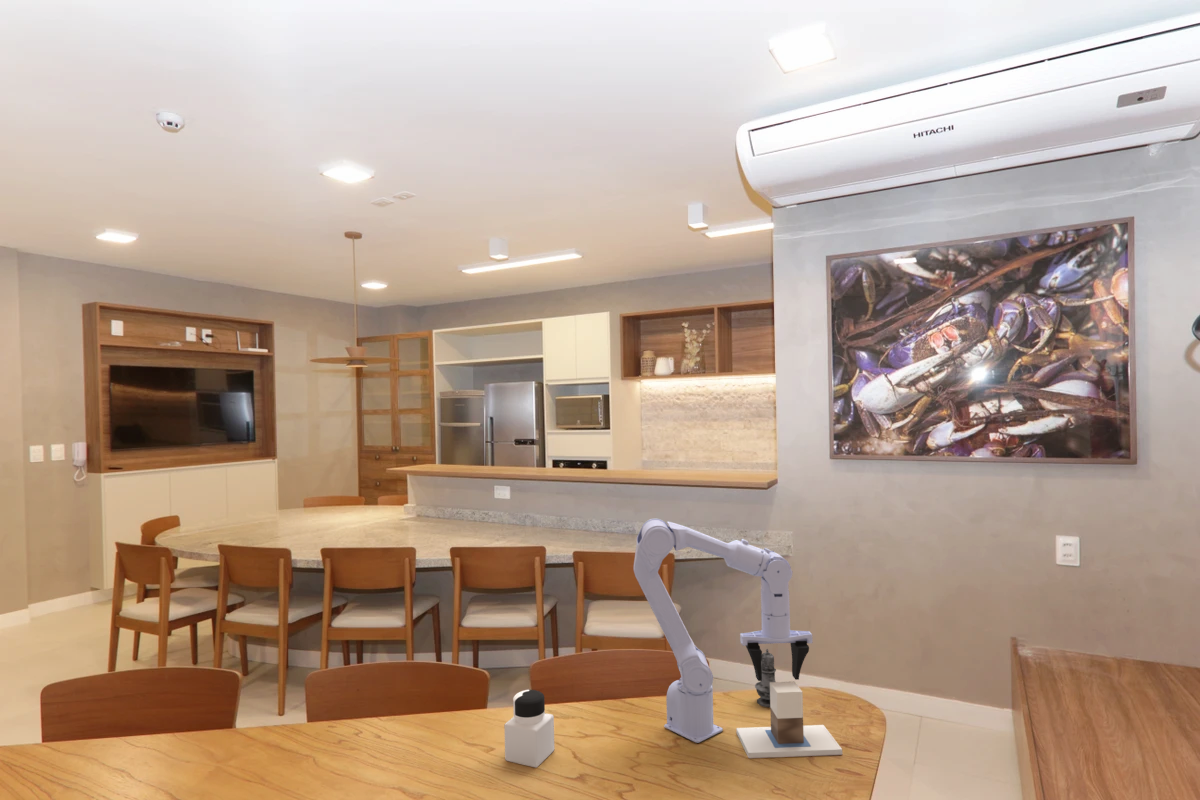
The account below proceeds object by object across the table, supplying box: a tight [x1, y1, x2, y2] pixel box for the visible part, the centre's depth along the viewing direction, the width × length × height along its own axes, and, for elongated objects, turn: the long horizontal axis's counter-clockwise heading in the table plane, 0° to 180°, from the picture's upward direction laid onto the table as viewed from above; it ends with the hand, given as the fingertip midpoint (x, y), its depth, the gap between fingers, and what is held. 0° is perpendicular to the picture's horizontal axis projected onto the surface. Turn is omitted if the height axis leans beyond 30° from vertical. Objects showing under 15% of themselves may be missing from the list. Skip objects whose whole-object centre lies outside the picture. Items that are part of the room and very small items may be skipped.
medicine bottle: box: [504, 689, 555, 769], centre depth 131 cm, size 7×7×12 cm
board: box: [735, 724, 843, 759], centre depth 133 cm, size 18×10×1 cm, turn 92°
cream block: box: [770, 680, 804, 719], centre depth 133 cm, size 5×5×5 cm
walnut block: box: [769, 707, 804, 744], centre depth 134 cm, size 5×5×5 cm
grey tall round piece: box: [754, 648, 777, 709], centre depth 152 cm, size 6×6×12 cm
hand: (777, 678), depth 139 cm, fingers open, 7 cm apart
